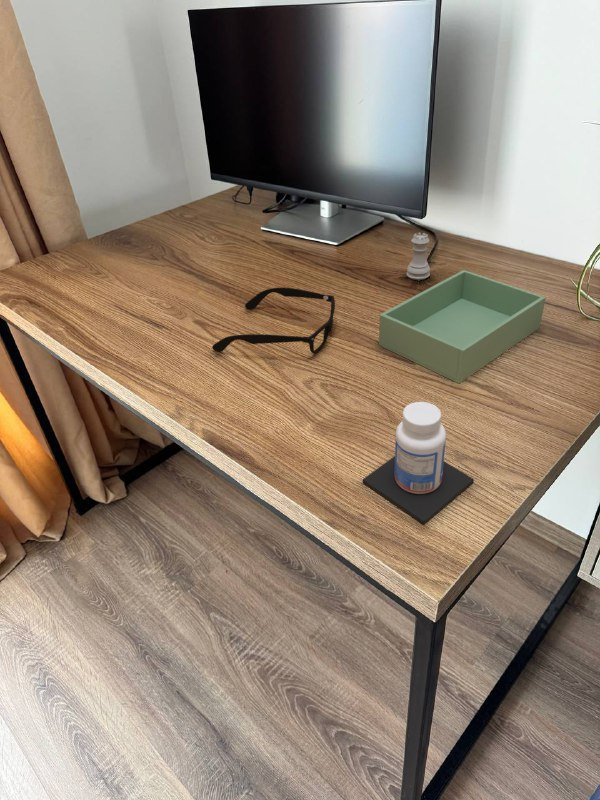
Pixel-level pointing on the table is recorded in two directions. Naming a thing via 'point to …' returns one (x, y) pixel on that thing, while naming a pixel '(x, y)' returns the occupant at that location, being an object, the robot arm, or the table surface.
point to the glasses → (280, 338)
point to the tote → (460, 324)
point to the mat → (418, 504)
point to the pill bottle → (420, 448)
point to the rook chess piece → (419, 258)
